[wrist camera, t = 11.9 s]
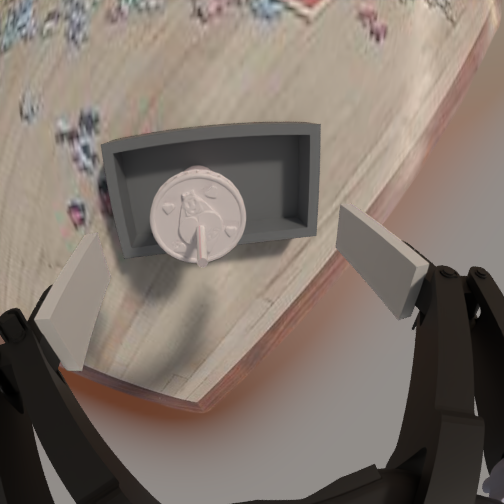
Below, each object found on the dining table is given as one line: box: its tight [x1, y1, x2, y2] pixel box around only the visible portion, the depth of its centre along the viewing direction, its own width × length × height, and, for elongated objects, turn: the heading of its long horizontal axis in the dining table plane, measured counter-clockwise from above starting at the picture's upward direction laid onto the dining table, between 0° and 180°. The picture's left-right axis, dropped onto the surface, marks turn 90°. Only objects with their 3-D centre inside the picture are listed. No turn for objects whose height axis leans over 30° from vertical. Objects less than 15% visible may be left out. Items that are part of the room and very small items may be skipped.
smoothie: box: [150, 165, 246, 267], centre depth 20 cm, size 6×6×14 cm
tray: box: [101, 122, 321, 259], centre depth 25 cm, size 11×19×4 cm, turn 92°
